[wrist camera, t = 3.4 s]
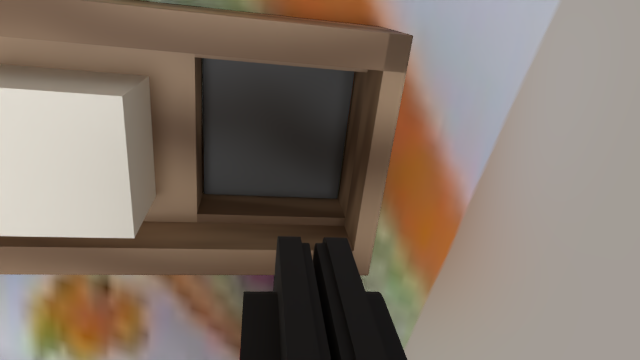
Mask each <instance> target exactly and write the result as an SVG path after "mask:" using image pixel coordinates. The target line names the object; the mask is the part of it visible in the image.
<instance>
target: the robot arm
mask: <svg viewBox="0 0 640 360" xmlns="http://www.w3.org/2000/svg"><path fill="white" fill-rule="evenodd" d="M240 360H407V358H406V355H405V353H404V350H403V347H402V345H401V342H400V340H399V337H398V335H397V332H396V329H395V327H394V324H393V322H392V319H391V317H390V314H389V311H388V309H387V306H386V304H385V301H384V299H383V297H382V295H381V293H379V292H365V289H364V286H363V283H362V280H361V277H360V274H359V271H358V268H357V266H356V263H355V260H354V257H353V254H352V251H351V248H350V245H349V242H348V239H347V238H339V237H324V238H323V242H322V243H315V246H314V253H313V260H312V255H311V249H310V244H309V243H302V241H301V237H293V236H278V238H277V248H276V261H275V274H274V287H273V292H244V297H243V314H242V332H241V350H240Z"/></svg>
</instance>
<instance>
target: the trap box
mask: <svg viewBox="0 0 640 360" xmlns="http://www.w3.org/2000/svg"><path fill="white" fill-rule="evenodd" d="M412 39H413V36H412V35H409V34H405V33H401V32H398V31H394V30H391V29H387V28H383V27H379V26H370V25H361V24H351V23H342V22H333V21H324V20H315V19H305V18H296V17H287V16H278V15H269V14H259V13H250V12H241V11H232V10H223V9H213V8H204V7H195V6H186V5H177V4H167V3H158V2H149V1H140V0H0V64H3V65H16V66H29V67H41V68H54V69H66V70H79V71H91V72H104V73H116V74H129V75H141V76H149V88H150V105H151V121H152V138H153V155H154V172H155V188H156V197H155V199H154V201H153V203H152V205H151V207H150V209H149V211H148V213H147V215H146V217H145V219H144V220H143V222H142V224H141V226H140V228H139V230H138V232H137V234H136V236H135V238H83V237H23V236H0V274H65V275H274V274H275V261H276V248H277V238H278V236H293V237H301V241H302V243H309V244H310V249H311V255H312V260H313V253H314V246H315V243H322V242H323V238H324V237H339V238H347V239H348V242H349V245H350V248H351V251H352V254H353V257H354V260H355V263H356V266H357V268H358V271H359V274H360V275H368V274H369V268H370V263H371V258H372V252H373V247H374V242H375V236H376V231H377V226H378V220H379V215H380V210H381V204H382V199H383V194H384V188H385V183H386V178H387V172H388V167H389V162H390V156H391V151H392V146H393V140H394V135H395V130H396V124H397V119H398V114H399V108H400V103H401V98H402V92H403V87H404V82H405V76H406V71H407V66H408V60H409V55H410V50H411V44H412ZM202 58H203V130H204V193H203V156H202ZM354 73H355V77H354ZM353 80H354V84H353ZM352 87H353V91H352ZM351 95H352V98H351ZM350 102H351V105H350ZM349 109H350V113H349ZM348 116H349V120H348ZM347 124H348V127H347ZM346 131H347V134H346ZM345 138H346V142H345ZM344 145H345V149H344ZM343 153H344V156H343ZM342 160H343V163H342ZM341 167H342V170H341ZM340 174H341V178H340ZM339 182H340V185H339ZM338 189H339V192H338ZM337 196H338V198H337Z"/></svg>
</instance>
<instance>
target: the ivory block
mask: <svg viewBox="0 0 640 360" xmlns="http://www.w3.org/2000/svg"><path fill="white" fill-rule="evenodd" d="M155 197H156V188H155V172H154V155H153V138H152V121H151V105H150V88H149V76H141V75H129V74H116V73H104V72H91V71H79V70H66V69H54V68H41V67H29V66H16V65H3V64H0V236H23V237H83V238H135V236H136V234H137V232H138V230H139V228H140V226H141V224H142V222H143V220H144V219H145V217H146V215H147V213H148V211H149V209H150V207H151V205H152V203H153V201H154V199H155Z"/></svg>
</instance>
